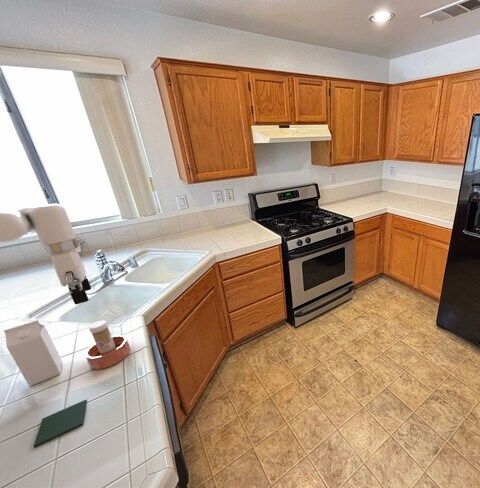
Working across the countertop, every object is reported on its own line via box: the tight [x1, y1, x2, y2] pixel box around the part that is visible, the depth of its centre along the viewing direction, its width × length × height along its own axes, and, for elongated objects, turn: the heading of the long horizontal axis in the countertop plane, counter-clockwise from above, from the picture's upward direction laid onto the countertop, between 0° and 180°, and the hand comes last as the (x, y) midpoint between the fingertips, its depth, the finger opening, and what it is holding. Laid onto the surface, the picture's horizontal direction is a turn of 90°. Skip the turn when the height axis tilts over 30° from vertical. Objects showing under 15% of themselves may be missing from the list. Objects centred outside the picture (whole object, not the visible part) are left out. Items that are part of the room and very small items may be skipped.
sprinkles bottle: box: [88, 319, 116, 356], centre depth 88 cm, size 5×5×14 cm
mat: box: [33, 399, 88, 449], centre depth 69 cm, size 9×9×1 cm
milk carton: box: [3, 319, 63, 387], centre depth 82 cm, size 7×7×19 cm
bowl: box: [84, 334, 131, 370], centre depth 90 cm, size 11×11×5 cm
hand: (83, 296), depth 83 cm, fingers open, 9 cm apart
